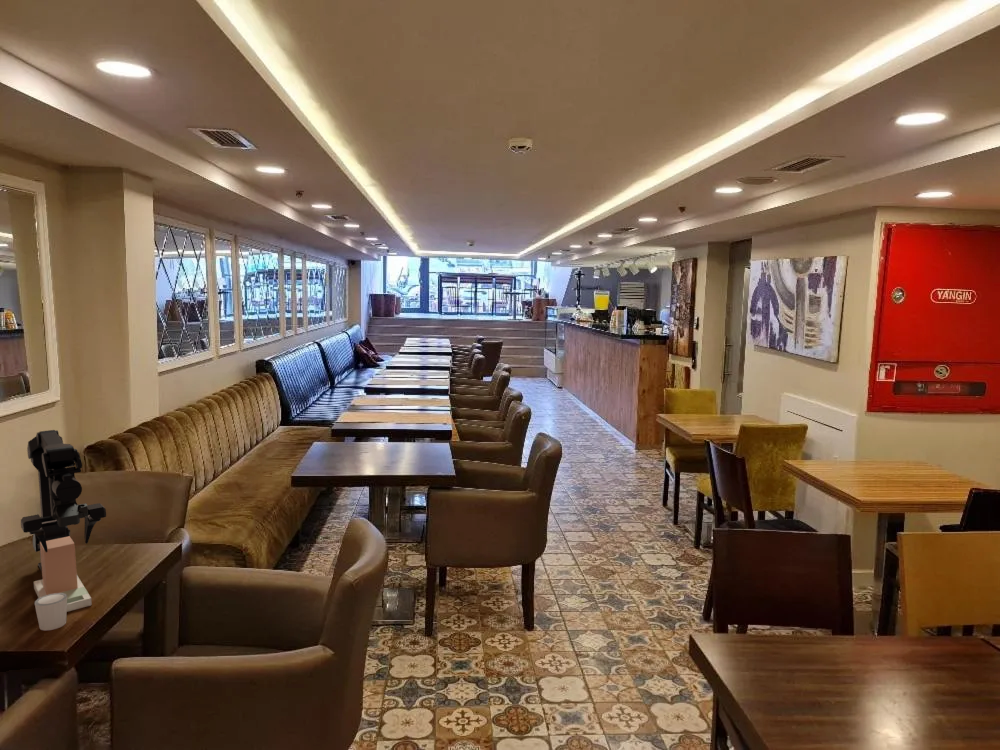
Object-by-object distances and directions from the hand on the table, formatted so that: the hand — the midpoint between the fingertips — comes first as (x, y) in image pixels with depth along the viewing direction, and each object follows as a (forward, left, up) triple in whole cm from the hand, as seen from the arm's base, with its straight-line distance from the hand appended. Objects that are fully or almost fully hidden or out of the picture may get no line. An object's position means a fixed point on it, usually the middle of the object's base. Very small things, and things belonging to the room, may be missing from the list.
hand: (66, 547), depth 176 cm
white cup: (+14, -6, -15) cm, 21 cm away
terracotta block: (-5, -2, -13) cm, 14 cm away
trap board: (-3, -2, -15) cm, 15 cm away
